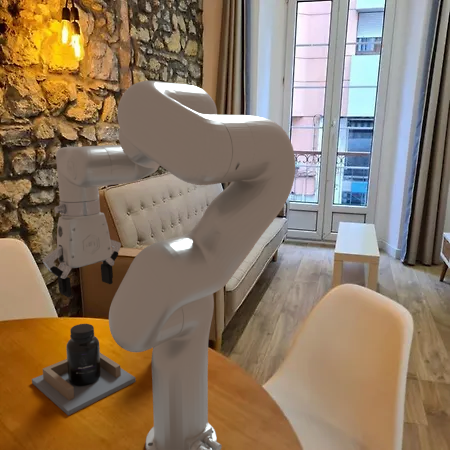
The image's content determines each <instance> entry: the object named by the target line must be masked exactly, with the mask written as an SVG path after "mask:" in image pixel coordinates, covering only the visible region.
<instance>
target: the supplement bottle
mask: <svg viewBox="0 0 450 450" xmlns="http://www.w3.org/2000/svg"><path fill="white" fill-rule="evenodd" d="M69 336H70V338H69V340H68V342H67V343H66V347H65V348H66V349H65V350H66V359H67V366H68V379H69V382H70V383H71V384H73V385H75V386H87V385H90V384H93V383H94V382H96V381H97V380H98V379H99V377H100V353H101V351H100V340H99V339H98V337H97V336H95V328H94V325H92V324H90V323H80V324H79V323H78V324H76V325H74V326H72V327H71V328H70V335H69Z"/></svg>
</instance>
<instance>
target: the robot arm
mask: <svg viewBox="0 0 450 450" xmlns="http://www.w3.org/2000/svg"><path fill="white" fill-rule="evenodd" d="M116 112H117V114H116V115H117V122H118V126H119V131H118V140H119V144H113V145H112V144H108V145H107V144H106V145H85V146H64V147H61V148H58V149H57V150H56V153H55V162H56V170H57V181H58V183H57V184H58V192H59V203H58V204H59V205H57V206H54V211H55V213H56V214H60V215H61V216H59V217H58V221H57V229H56V231H57V233H56V248H55V249H54V250H52V251H51V252H50V253H48V254H47V255H46V256H45V257H43V258H42V263H43V264H44V266H45V268H47V270H48V271H49V273H51V274H53V275H54V276H55V277H57V284H58V292H59V293H60V294H61V295H62V296H65V297H67V298H71V296H72V285H71V278H70V277H68V275H69V274H70V272H71V270H72V269H77V268H82V267H85V266H88V265H93V264H96V263H100V262H102V263H101V264H100V273H101V275H100V276H101V282H102V283H105V284H108V285H113V278H114V274H113V273H114V272H113V266H114V265H115V262H116V260H117V258H118V257H119V252H120V250H121V246H122V243H121V242H119V241H117V240H114V239H111V237H110V236H111V234H110V231H109V226H108V222H107V218H106V215H105V213H104V212H101V205H100V203H101V202H100V193H99V191H100V190H99V187H104V186H114V185H124V184H130V183H135V182H136V181H140V180H142V179H143V178H146V177H148V176H150V175H153V174H154V173H155V172H157V170H158V169H159V168H160V166H161V167H162V168H163V169H164V170H166V171H167V172H169V174H171V175H172V176H174V177H176V178H178V179H179V180H180V181H183V182H186V183H187V184H191V185H194V186H195V185H196V186H210V185H217V184H226V183H229V185H228V186H227V187H226V188H225V189H223V191H221V192H220V193H219V194H218V195H217V196H216V197H214V199H213V200H212V201H211V202H210V203H209V205H208V206H207V207H206V209H205V210H204V212H203V215H202V216H201V218H200V219H199V221H198V222H197V223H196V225H195V226H194V227H193V228H192V230H190V231H188V232H187V233H183V234H181V235H179V236H175V237H170V238H168V239H163V240H160V241H156V242H153V243H151V244H150V245H147V246H146V247H144V248H143V249H141V250H140V252H139V253H137V255H136V256H135V257H134V258H133V260H132V262H131V263H130V265H129V268H128V269H127V271H126V273H125V275H124V277H123V278H122V281H121V282H120V284H119V286H118V289H117V290H116V292H115V294H114V296H113V298H112V301H111V304H110V307H109V312H108V325H109V326H108V327H109V331H110V335H111V337H112V339H113V340H114V342H115V343H116V344H117V345H118V347H120V348H121V349H123V350H125V351H127V352H131V353H142V352H145V351H148V350H151V349H152V352H151V353H152V354H151V378H152V379H151V380H152V381H151V382H152V407H153V409H152V410H153V411H152V412H153V426H152V427H151V428H150V430H149V432H148V433H147V434H146V437H145V450H222V446H223V445H222V444H221V443H219V442H218V441H217V438H218V437H217V433H216V430H215V428H214V427H213V426H212V425H211V424H210V423H209V416H208V415H209V406H208V405H209V404H208V403H209V400H208V397H209V396H208V395H209V392H208V391H209V387H208V385H209V384H208V382H209V381H208V380H209V379H208V378H209V375H208V374H209V371H208V370H209V368H208V365H209V339H210V338H209V337H210V332H211V331H210V330H211V325H212V320H213V315H214V309H215V308H214V306H215V302H214V301H215V300H214V293H216V292H218V291H220V290H221V289H223V288H224V287H225V286H226V285H227V284H228V283H229V281H231V279H232V277H234V274H235V273H236V271H238V269H239V268H240V266H241V265H242V263H244V261H245V259H246V258H247V257H248V255H249V254H250V253H251V251H252V250H253V249H254V247H255V245H256V244H257V242H258V241H259V240H260V238H261V237H262V236H263V235H264V233H265V232H266V231H267V229H268V228H269V227H270V225H272V223H273V222H274V221H275V219H276V218H277V217H278V215H279V213H280V212H281V210H282V209H283V207H284V206H285V205H286V203H287V201H288V198H289V197H290V194H291V192H292V190H293V189H292V188H293V186H294V180H295V174H296V156H295V151H294V147H293V144H292V141H291V139H290V137H289V135H288V133H287V132H286V131H285V130H284V128H283V127H282V126H281V125H279V124H278V123H277V122H275V121H273V120H271V119H270V118H265V117H261V116H257V115H248V114H218V109H217V105H216V103H215V101H214V100H213V98H212V97H211V96H210V94H209V93H208V92H207V91H206V90H204V89H203V88H200V87H198V86H196V85H194V84H193V85H192V84H188V83H177V82H167V81H157V80H142V81H138V82H136V83H134V84H132V85H130V86H129V87H128V88H127V89H126V90H125V91H124V93H122V96H121V97H120V100H119V101H118V106H117V111H116ZM56 260H58V262H59V265H58V267H57V266H56V265H55V261H56Z"/></svg>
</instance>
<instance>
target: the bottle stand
mask: <svg viewBox="0 0 450 450" xmlns="http://www.w3.org/2000/svg"><path fill="white" fill-rule="evenodd" d="M136 381H137V380H136V377H135V375H133V374H131V373H129V372H128V371H127V370H124V368H122V367H121V365H120V364H119V363H117V362H115V361H114V360H112V359H111V358H109V357H108V356H107V355H104V354H103V353H101V352H100V377H99V379H98V380H97V381H96V382H94V383H93V384H90V385H87V386H75V385H73V384H71V383H70V382H69V379H68V366H67V358H65V359H64V360H61V361H58V362H55V363H53V364H51V365H48V366H45V367H44V368H42V375H38V376H36V377H33V378H31V383H32V385H33V386H35V388H37V389H38V390H39V391H40V392H41V393H42V394H43V395H44V396H46V397H47V398H48V399H50V401H51V402H53V403H54V405H56V406H57V407H58V408H59V409H60V410H61V411H63V413H65V414H66V415H67V416H70V415H72V414H74V413H77V412H78V411H80V410H82V409H84V408H86V407H88V406H91V405H92V404H94V403H96V402H98V401H100V400H102V399H104V398H105V397H107V396H110V395H112V394H113V393H116V392H118V391H120V390H122V389H124V388H126V387H128V386H129V385H132V384H133V383H136Z"/></svg>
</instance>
